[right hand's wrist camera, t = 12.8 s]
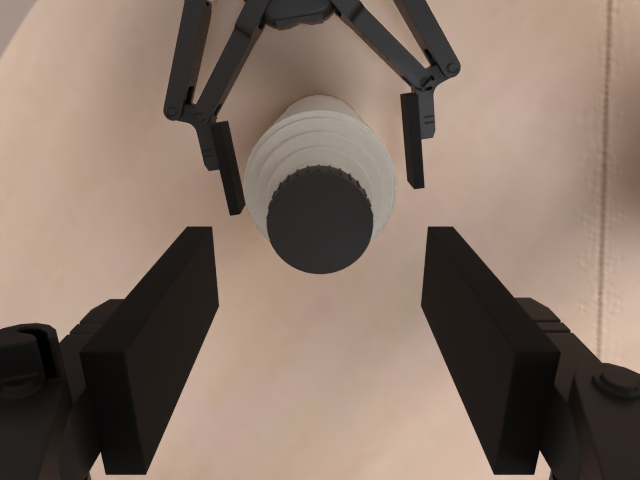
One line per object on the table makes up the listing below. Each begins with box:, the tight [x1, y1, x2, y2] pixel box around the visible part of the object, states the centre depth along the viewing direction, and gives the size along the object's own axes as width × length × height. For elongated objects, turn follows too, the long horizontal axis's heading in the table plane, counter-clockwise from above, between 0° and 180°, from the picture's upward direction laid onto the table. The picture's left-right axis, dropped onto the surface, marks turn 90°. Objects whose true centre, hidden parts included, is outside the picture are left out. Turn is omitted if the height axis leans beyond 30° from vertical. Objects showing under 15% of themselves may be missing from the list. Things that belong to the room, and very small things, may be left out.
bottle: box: [243, 95, 397, 241], centre depth 28 cm, size 8×8×22 cm
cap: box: [266, 164, 374, 274], centre depth 19 cm, size 4×4×2 cm
